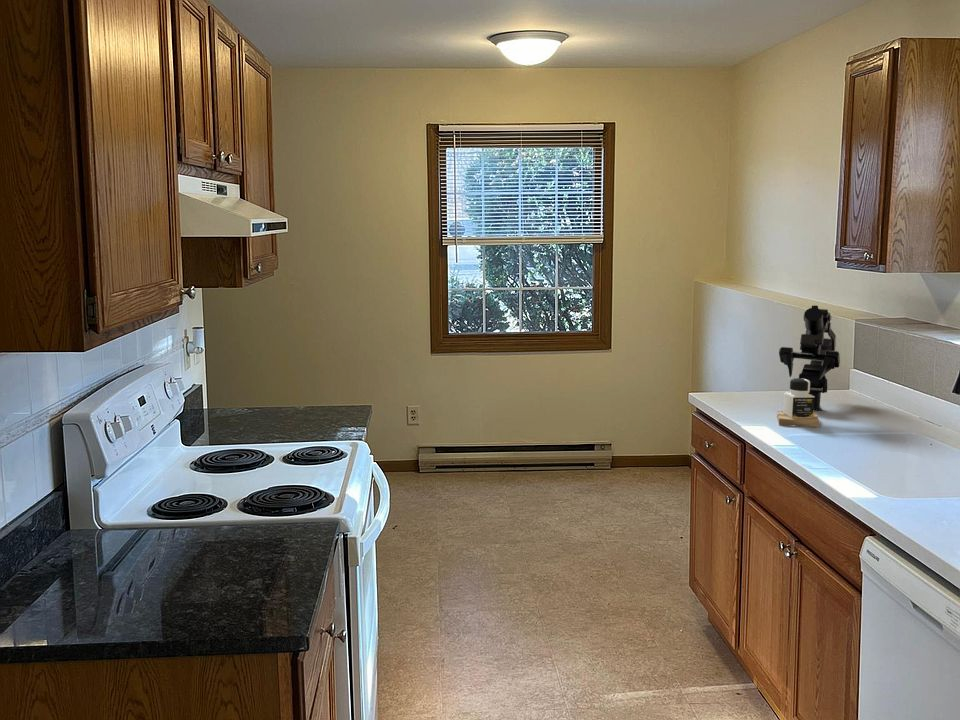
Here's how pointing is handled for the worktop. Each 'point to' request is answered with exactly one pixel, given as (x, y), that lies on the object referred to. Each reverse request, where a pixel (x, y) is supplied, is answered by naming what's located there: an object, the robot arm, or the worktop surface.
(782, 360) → the robot arm
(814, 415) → the tan flat square slab
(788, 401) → the medicine bottle
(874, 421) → the worktop surface
